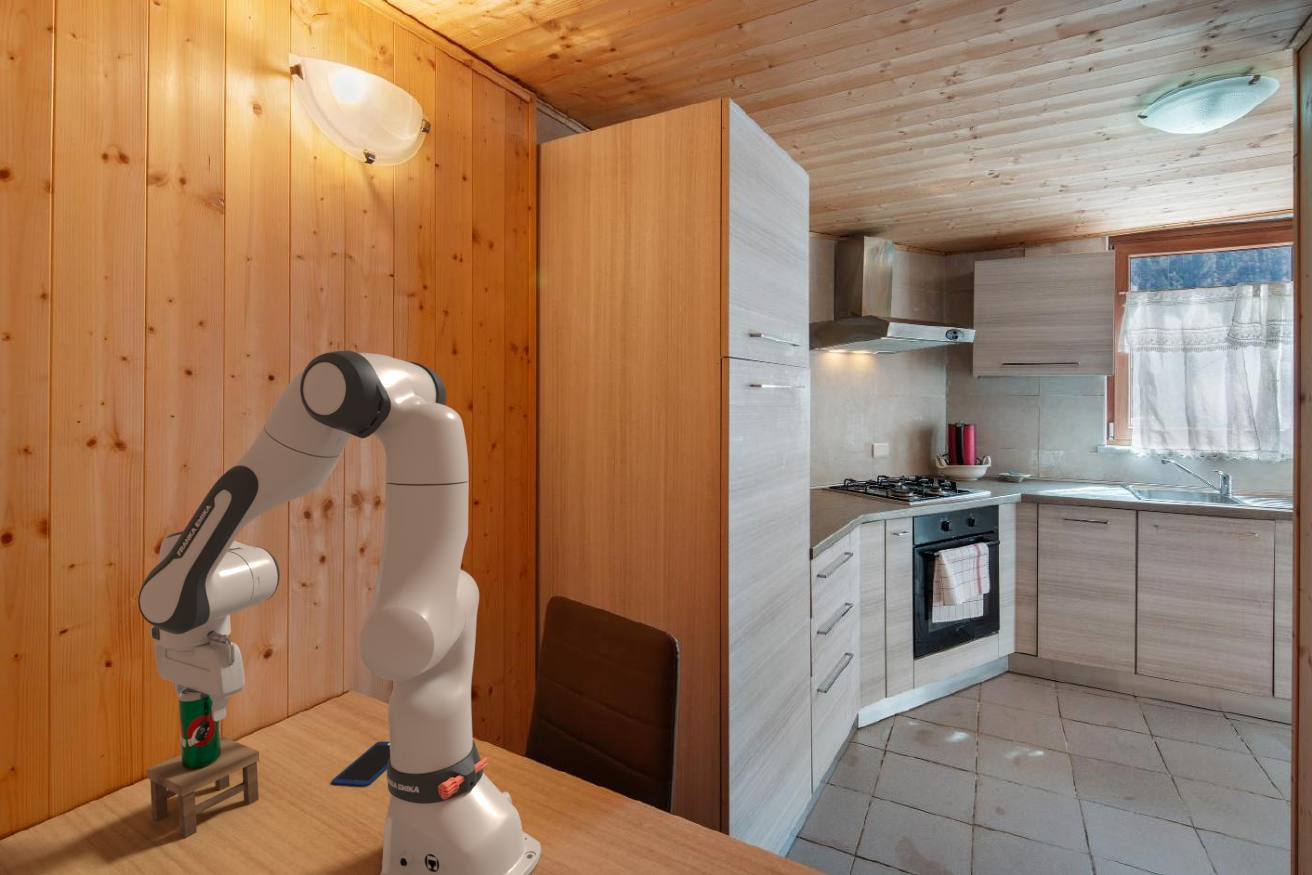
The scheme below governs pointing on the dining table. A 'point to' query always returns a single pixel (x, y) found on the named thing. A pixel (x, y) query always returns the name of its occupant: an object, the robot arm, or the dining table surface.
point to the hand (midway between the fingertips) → (202, 713)
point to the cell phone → (365, 767)
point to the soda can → (198, 730)
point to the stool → (202, 783)
